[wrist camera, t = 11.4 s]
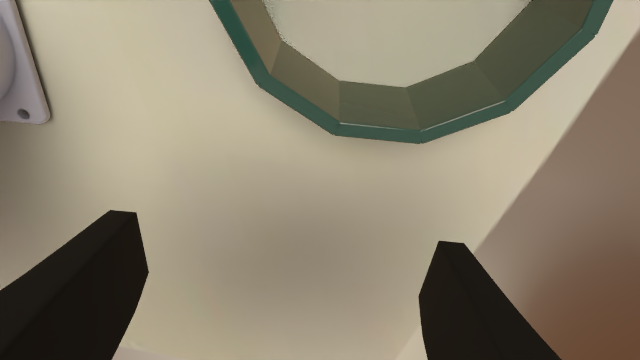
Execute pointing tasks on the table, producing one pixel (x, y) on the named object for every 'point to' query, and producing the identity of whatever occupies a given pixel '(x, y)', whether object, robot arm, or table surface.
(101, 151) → the table surface
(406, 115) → the green bowl
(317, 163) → the table surface
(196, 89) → the table surface
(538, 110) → the table surface
